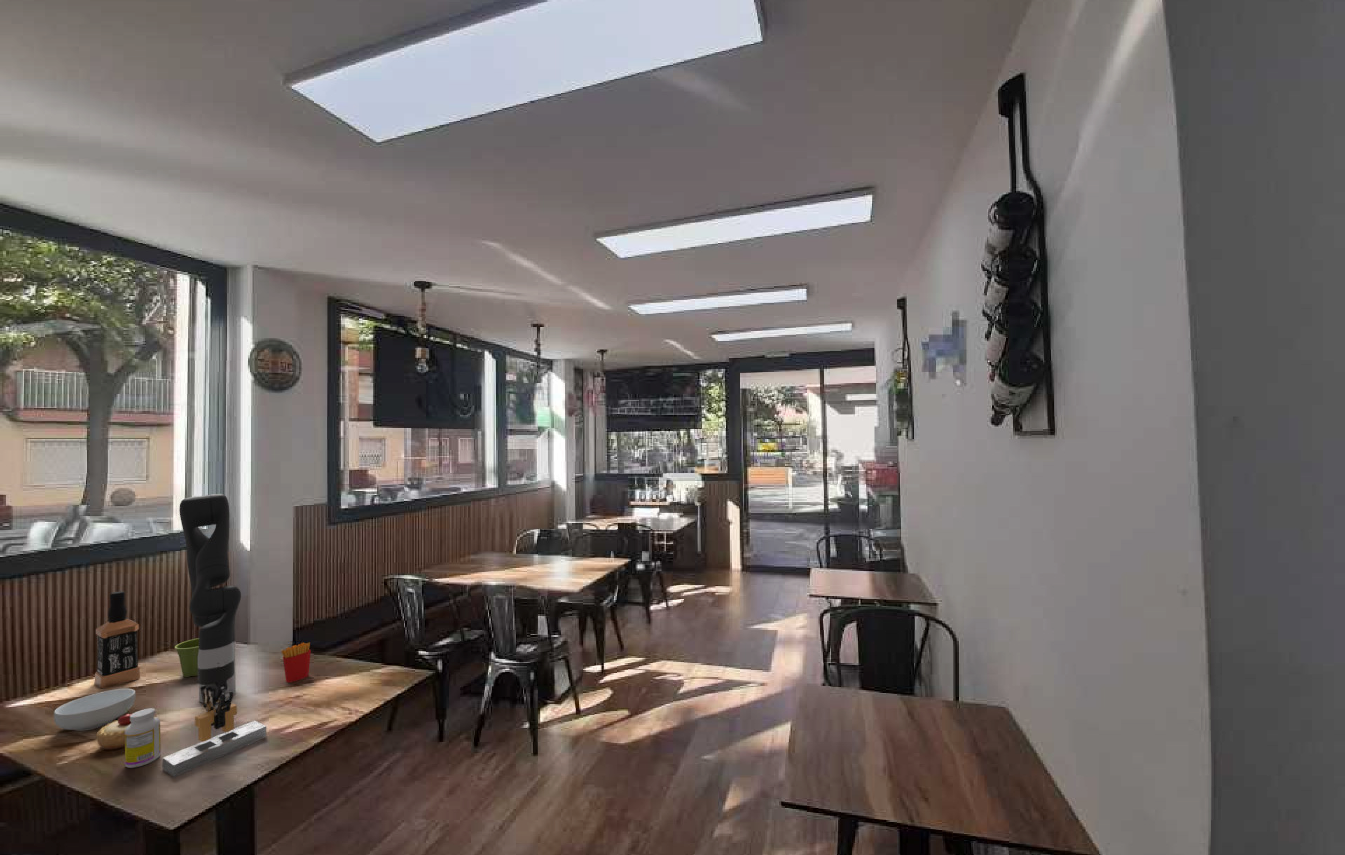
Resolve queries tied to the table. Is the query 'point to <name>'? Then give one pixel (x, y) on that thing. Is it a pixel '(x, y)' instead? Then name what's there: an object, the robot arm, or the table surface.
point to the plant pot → (189, 657)
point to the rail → (213, 748)
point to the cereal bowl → (94, 710)
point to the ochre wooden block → (208, 718)
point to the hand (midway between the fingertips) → (216, 725)
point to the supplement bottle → (142, 738)
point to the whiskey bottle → (117, 646)
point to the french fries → (296, 662)
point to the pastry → (114, 733)
